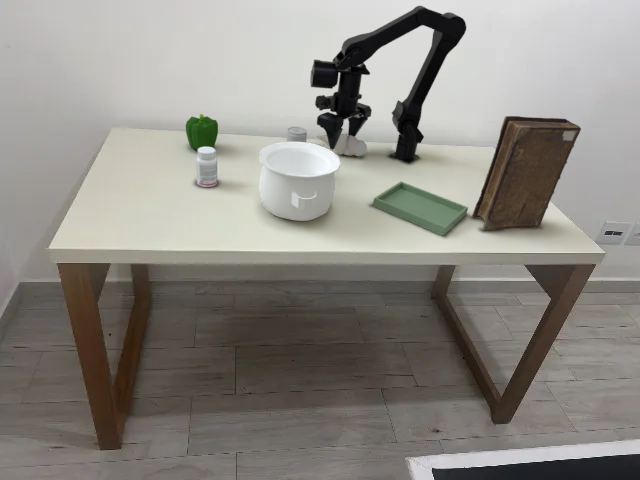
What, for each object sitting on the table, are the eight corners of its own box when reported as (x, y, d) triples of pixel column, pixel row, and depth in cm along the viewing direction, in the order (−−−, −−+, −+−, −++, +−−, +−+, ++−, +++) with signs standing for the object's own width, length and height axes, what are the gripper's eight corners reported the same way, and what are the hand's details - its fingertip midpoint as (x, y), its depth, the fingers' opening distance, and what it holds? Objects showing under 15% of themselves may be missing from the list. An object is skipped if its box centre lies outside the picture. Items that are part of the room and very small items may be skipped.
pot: (254, 184, 120) (256, 136, 113) (324, 186, 123) (330, 139, 116) (260, 233, 101) (262, 179, 95) (342, 233, 105) (350, 181, 98)
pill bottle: (221, 184, 118) (221, 151, 113) (204, 189, 115) (204, 155, 110) (209, 176, 120) (208, 144, 116) (192, 181, 117) (191, 148, 113)
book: (533, 216, 121) (572, 117, 107) (548, 232, 115) (591, 129, 102) (469, 215, 118) (501, 113, 104) (482, 231, 112) (517, 125, 98)
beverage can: (305, 173, 128) (310, 129, 121) (298, 181, 124) (303, 135, 117) (288, 169, 129) (291, 125, 122) (281, 176, 125) (284, 131, 118)
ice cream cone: (311, 149, 141) (361, 163, 143) (314, 142, 135) (366, 157, 137) (316, 129, 142) (366, 143, 144) (319, 122, 136) (371, 136, 138)
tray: (399, 188, 126) (400, 181, 125) (466, 215, 118) (468, 207, 117) (372, 205, 117) (374, 198, 116) (443, 235, 109) (445, 227, 107)
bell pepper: (192, 140, 138) (191, 105, 132) (221, 145, 137) (221, 109, 132) (181, 151, 131) (179, 115, 125) (211, 156, 130) (211, 119, 125)
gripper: (343, 77, 142) (336, 129, 150) (303, 87, 128) (298, 144, 137) (376, 86, 136) (367, 140, 145) (338, 99, 123) (331, 157, 132)
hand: (341, 145), depth 140 cm, fingers open, 9 cm apart
